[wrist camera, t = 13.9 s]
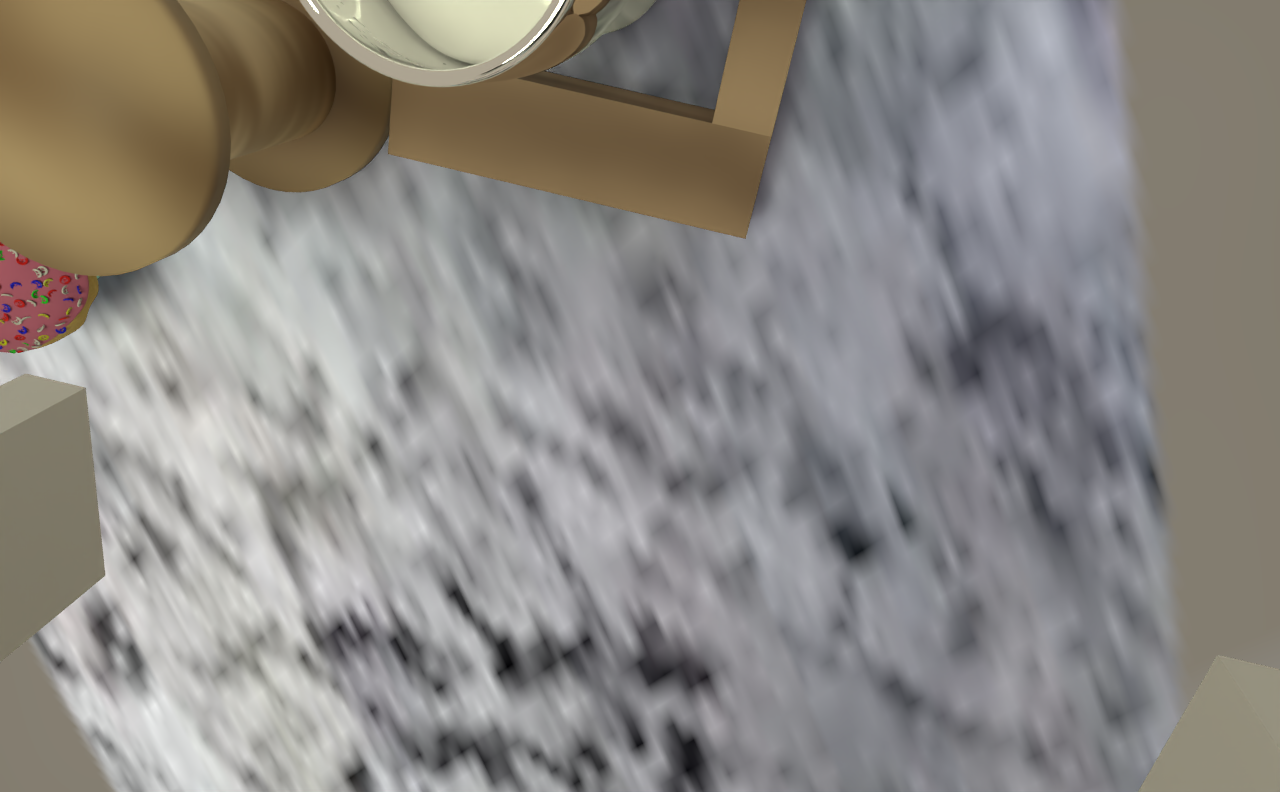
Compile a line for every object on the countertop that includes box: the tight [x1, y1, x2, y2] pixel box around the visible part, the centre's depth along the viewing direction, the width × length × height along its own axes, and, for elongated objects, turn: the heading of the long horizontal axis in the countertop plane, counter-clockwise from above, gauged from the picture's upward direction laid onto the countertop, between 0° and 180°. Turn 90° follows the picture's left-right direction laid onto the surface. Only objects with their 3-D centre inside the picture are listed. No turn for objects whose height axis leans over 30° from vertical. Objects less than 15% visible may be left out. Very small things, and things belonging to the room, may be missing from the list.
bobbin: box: [0, 0, 393, 276], centre depth 28 cm, size 9×9×12 cm
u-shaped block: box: [388, 0, 806, 239], centre depth 30 cm, size 12×13×3 cm
